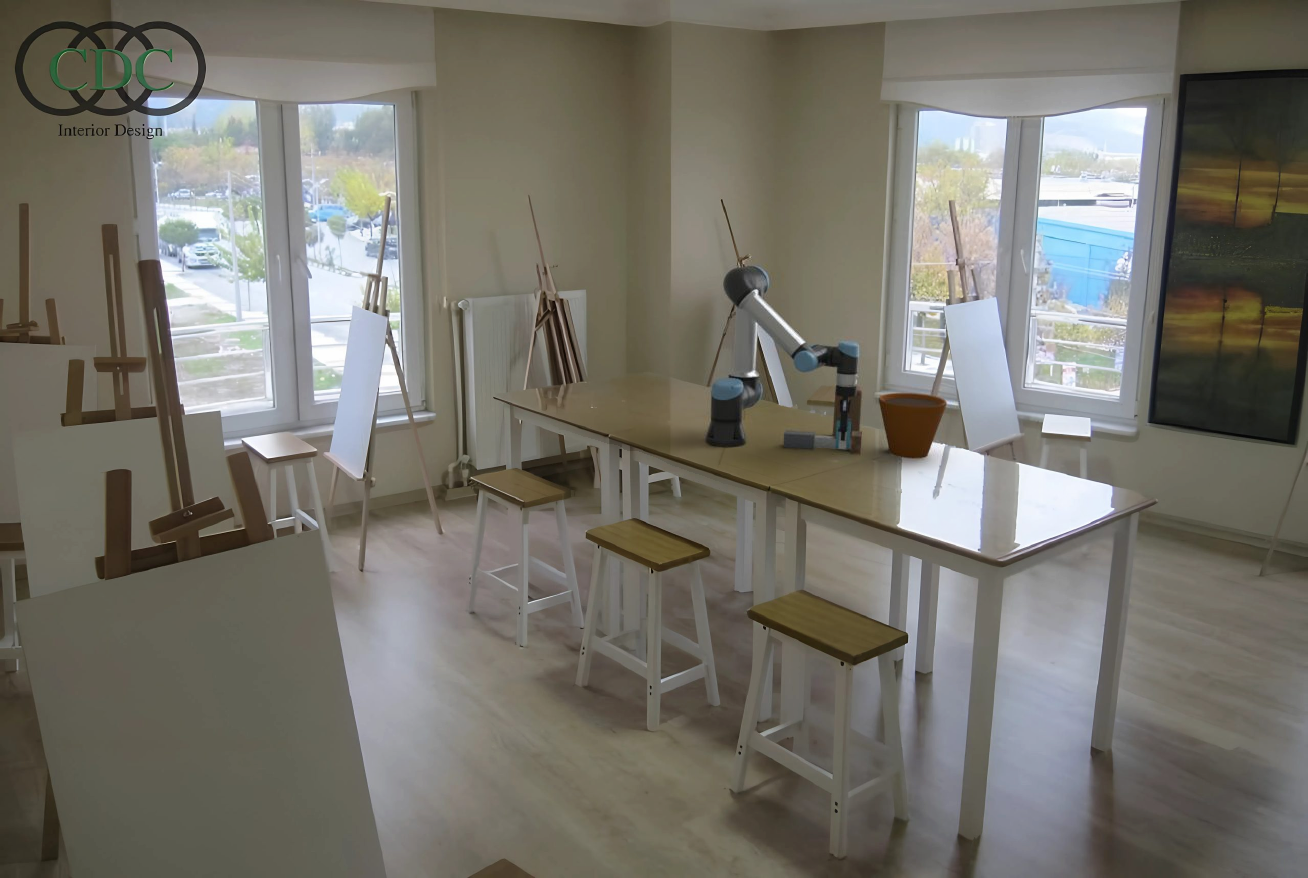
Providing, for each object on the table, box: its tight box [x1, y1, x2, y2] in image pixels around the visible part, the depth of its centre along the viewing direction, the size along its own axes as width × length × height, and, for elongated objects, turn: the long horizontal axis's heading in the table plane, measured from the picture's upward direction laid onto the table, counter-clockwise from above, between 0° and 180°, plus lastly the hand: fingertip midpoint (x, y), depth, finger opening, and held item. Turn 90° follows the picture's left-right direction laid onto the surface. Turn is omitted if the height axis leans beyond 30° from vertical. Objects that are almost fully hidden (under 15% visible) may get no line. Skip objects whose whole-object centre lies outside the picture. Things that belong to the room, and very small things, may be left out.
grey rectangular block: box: [782, 429, 816, 451], centre depth 387 cm, size 11×6×6 cm, turn 78°
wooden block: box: [832, 385, 863, 438], centre depth 400 cm, size 10×10×20 cm
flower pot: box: [878, 392, 947, 459], centre depth 380 cm, size 24×24×20 cm
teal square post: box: [814, 418, 852, 451], centre depth 384 cm, size 19×4×10 cm, turn 78°
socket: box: [850, 430, 863, 455], centre depth 383 cm, size 4×8×6 cm, turn 168°
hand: (842, 446), depth 385 cm, fingers closed on teal square post, 4 cm apart
